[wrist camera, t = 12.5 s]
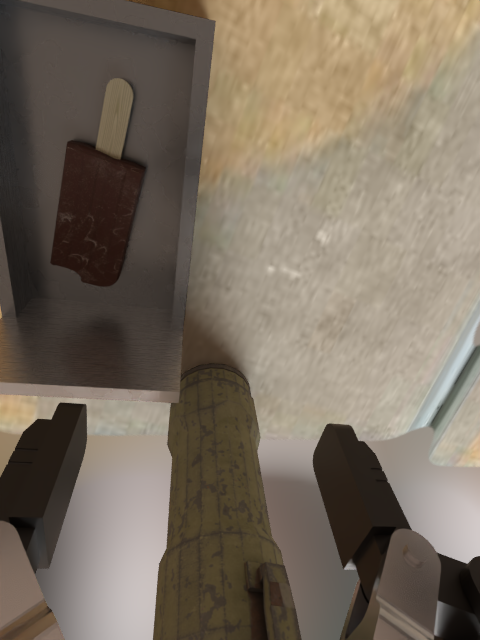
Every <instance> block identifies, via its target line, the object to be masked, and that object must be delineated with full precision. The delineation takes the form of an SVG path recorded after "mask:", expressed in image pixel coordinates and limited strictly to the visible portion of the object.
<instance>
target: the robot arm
mask: <svg viewBox="0 0 480 640" xmlns="http://www.w3.org/2000/svg"><path fill="white" fill-rule="evenodd" d="M86 442H87V410H86V404H74V403H59V405H58V406H57V408H56V411H55V413H54V415H53V417H52V420H48V419H37V420H36V421H35V422H34V423H33V424H32V425H31V426H29V427H28V428H27V429H26V430H25V431H24V432H23V434H22V436H21V438H20V440H19V442H18V444H17V446H16V448H15V451H13V453H12V455H11V457H10V459H9V462H8V465H6V467H5V469H4V471H3V473H2V475H1V477H0V640H65V639H64V637H63V634H62V632H61V630H60V627H59V625H58V622H57V620H56V618H55V616H54V614H53V612H52V610H51V609H50V608H49V607H48V606H47V603H46V601H45V599H44V596H43V594H42V591H41V589H40V587H39V584H38V582H37V579H36V577H35V573H36V570H37V568H49V567H50V563H51V560H52V557H53V553H54V551H55V547H56V544H57V541H58V538H59V534H60V531H61V528H62V525H63V521H64V518H65V515H66V512H67V508H68V506H69V502H70V499H71V496H72V492H73V489H74V486H75V483H76V480H77V477H78V473H79V470H80V467H81V463H82V461H83V457H84V453H85V449H86ZM313 467H314V472H315V475H316V479H317V482H318V485H319V488H320V492H321V496H322V499H323V502H324V505H325V509H326V512H327V515H328V519H329V522H330V526H331V529H332V532H333V536H334V539H335V542H336V545H337V549H338V552H339V556H340V559H341V563H342V566H343V569H357V572H358V575H359V578H360V579H359V580H358V581H357V584H356V587H355V590H354V594H353V597H352V600H351V604H350V607H349V610H348V613H347V617H346V620H345V624H344V627H343V630H342V633H341V637H340V640H480V556H478V557H475V558H473V559H472V560H471V561H470V562H469V563H468V564H466V563H463V562H460V561H458V560H455V559H452V558H449V557H447V556H444V555H441V554H439V553H437V552H436V551H435V549H434V548H433V546H432V545H431V544H430V543H429V542H428V541H427V540H426V539H425V538H424V537H423V536H421V535H420V534H418V533H417V532H414V531H412V529H411V528H410V526H409V524H408V522H407V519H406V517H405V515H404V513H403V511H402V509H401V507H400V505H399V503H398V501H397V498H396V496H395V494H394V493H393V490H392V488H391V486H390V484H389V483H388V482H387V478H386V475H385V473H384V471H382V467H381V465H380V463H379V461H378V459H377V457H376V455H375V453H374V452H373V451H372V450H371V449H370V448H369V447H368V445H367V444H366V443H365V442H363V441H358V439H357V437H356V434H355V432H354V430H353V428H352V427H351V426H350V425H343V424H327V425H326V427H325V429H324V431H323V433H322V436H321V438H320V440H319V442H318V444H317V447H316V449H315V451H314V455H313Z"/></svg>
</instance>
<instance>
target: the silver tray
mask: <svg viewBox="0 0 480 640" xmlns="http://www.w3.org/2000/svg"><path fill="white" fill-rule="evenodd" d="M214 31H215V21H213V20H209V19H205V18H200V17H196V16H192V15H187V14H183V13H178V12H174V11H170V10H165V9H161V8H157V7H152V6H148V5H143V4H139V3H135V2H130V1H126V0H0V306H1V312H2V318H1V319H0V394H6V395H26V396H46V397H66V398H86V399H106V400H126V401H146V402H167V403H179V395H180V378H181V359H182V340H183V326H184V317H185V307H186V298H187V288H188V279H189V269H190V260H191V250H192V241H193V231H194V222H195V212H196V202H197V193H198V183H199V174H200V164H201V155H202V145H203V136H204V126H205V117H206V107H207V98H208V88H209V79H210V69H211V60H212V50H213V41H214ZM114 78H120V79H124V80H125V81H127V82H128V83H129V84H130V85H131V87H132V89H133V93H134V98H133V103H132V108H131V113H130V118H129V123H128V128H127V132H126V137H125V142H124V147H123V152H122V157H121V158H122V159H126V160H129V161H132V162H135V163H137V164H139V165H142V166H144V167H146V171H145V175H144V179H143V183H142V187H141V192H140V196H139V200H138V204H137V208H136V212H135V216H134V221H133V225H132V229H131V233H130V237H129V241H128V246H127V250H126V254H125V258H124V262H123V266H122V271H121V274H120V277H119V279H118V280H117V282H116V283H114V284H113V285H112V286H108V287H101V286H95V285H92V284H88V283H84V282H82V281H81V277H80V276H79V275H78V274H77V273H76V272H75V271H73V270H70V269H68V268H64V267H61V266H57V265H52V264H51V263H50V261H51V254H52V246H53V239H54V232H55V225H56V218H57V211H58V204H59V196H60V189H61V182H62V175H63V168H64V161H65V154H66V146H67V142H68V141H71V140H73V141H77V142H82V143H86V144H89V145H92V146H94V147H96V144H97V138H98V132H99V127H100V121H101V115H102V109H103V104H104V98H105V92H106V87H107V84H108V83H109V82H110V80H112V79H114Z"/></svg>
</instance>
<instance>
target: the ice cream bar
mask: <svg viewBox="0 0 480 640" xmlns="http://www.w3.org/2000/svg"><path fill="white" fill-rule="evenodd" d="M133 98H134V93H133V89H132V87H131V85H130V84H129V83H128V82H127V81H125V80H124V79H120V78H114V79H112V80H110V82H109V83H108V84H107V87H106V92H105V98H104V104H103V109H102V115H101V121H100V127H99V132H98V138H97V144H96V147H94V146H92V145H89V144H86V143H82V142H77V141H73V140H71V141H68V142H67V146H66V154H65V161H64V168H63V175H62V182H61V189H60V196H59V204H58V211H57V218H56V225H55V232H54V239H53V246H52V254H51V261H50V263H51V264H52V265H57V266H61V267H64V268H68V269H70V270H73V271H75V272H76V273H77V274H78V275H79V276H80V277H81V281H82V282H84V283H88V284H92V285H95V286H101V287H108V286H112V285H113V284H114V283H116V282H117V280H118V279H119V277H120V274H121V271H122V266H123V262H124V258H125V254H126V250H127V246H128V241H129V237H130V233H131V229H132V225H133V221H134V216H135V212H136V208H137V204H138V200H139V196H140V192H141V187H142V183H143V179H144V175H145V171H146V167H144V166H142V165H139V164H137V163H135V162H132V161H129V160H126V159H122V158H121V157H122V152H123V147H124V142H125V137H126V132H127V128H128V123H129V118H130V113H131V108H132V103H133Z"/></svg>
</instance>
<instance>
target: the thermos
mask: <svg viewBox="0 0 480 640" xmlns="http://www.w3.org/2000/svg"><path fill="white" fill-rule="evenodd" d="M259 442H260V432H259V427H258V422H257V416H256V411H255V406H254V400H253V398H252V397H251V393H250V387H249V383H248V381H247V380H246V378H245V377H244V375H243V374H241V373H240V372H239V371H237V370H236V369H234V368H231V367H229V366H226V365H220V364H207V365H201V366H197V367H195V368H193V369H191V370H189V371H187V372H186V373H184V374H183V375H182V376H181V378H180V395H179V403H171V407H170V418H169V431H168V444H167V445H168V448H169V450H170V453H171V456H172V472H171V487H170V502H169V518H168V534H167V549H166V551H165V553H164V555H163V557H162V559H161V561H160V563H159V571H158V582H157V583H158V584H157V595H156V609H155V621H154V634H153V640H301V635H300V630H299V625H298V619H297V614H296V609H295V605H294V601H293V597H292V593H291V589H290V584H289V581H288V577H287V573H286V569H285V566H284V565H283V559H282V554H281V551H280V549H279V547H278V546H277V544H276V543H275V541H274V540H273V538H272V535H271V529H270V523H269V518H268V511H267V506H266V500H265V494H264V488H263V483H262V477H261V472H260V465H259V459H258V454H257V450H258V446H259Z"/></svg>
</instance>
